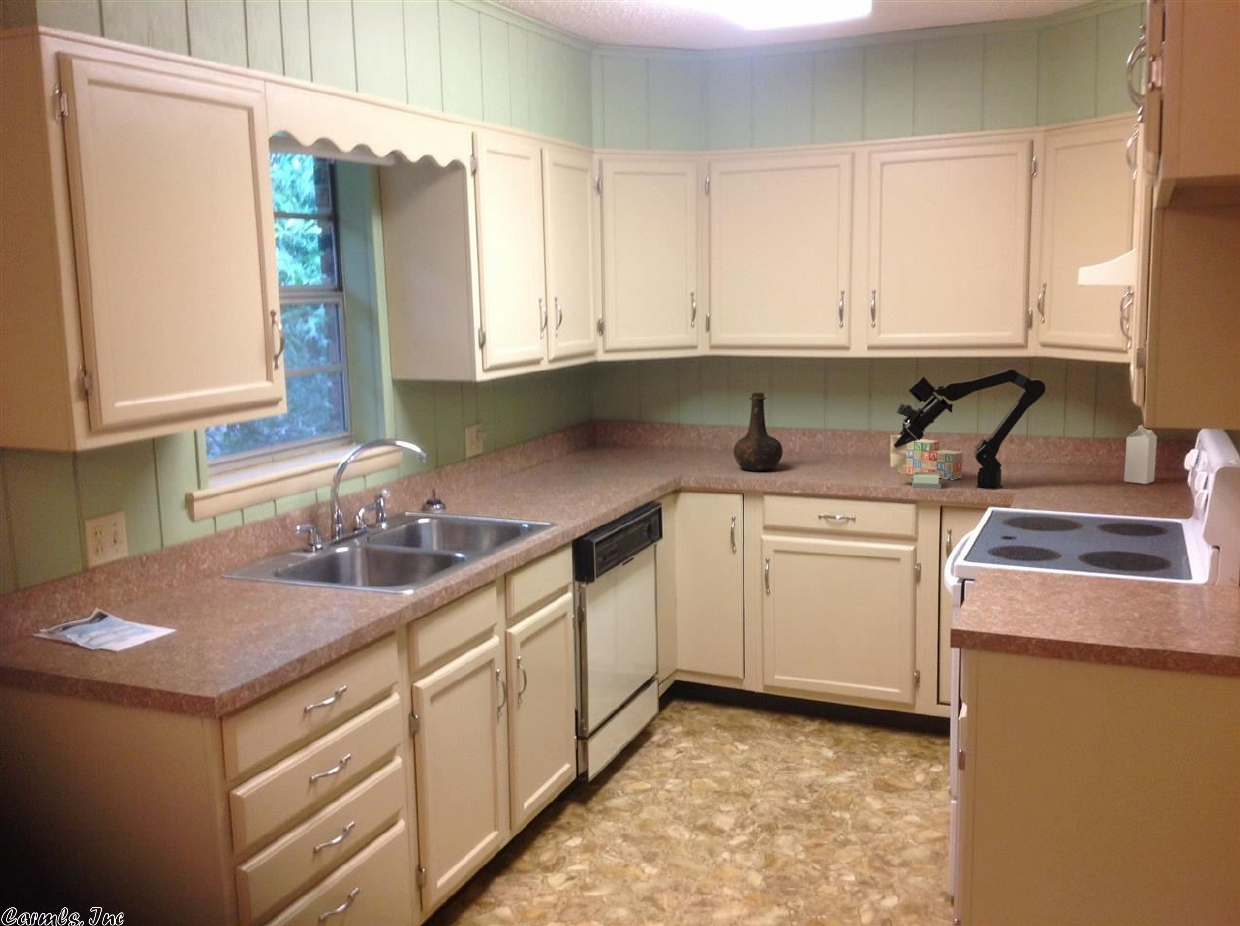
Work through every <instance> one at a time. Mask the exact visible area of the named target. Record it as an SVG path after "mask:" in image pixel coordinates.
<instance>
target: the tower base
mask: <svg viewBox="0 0 1240 926" xmlns="http://www.w3.org/2000/svg"><path fill="white" fill-rule="evenodd" d="M910 479H911V480H910V483H911V482H912V484H911V487H912V489H929V490H930V489H933V490H935V489H936V490H938V489H939V490H941V489H942V483H941V479H939V484H928V483H913V477H912V478H910Z"/></svg>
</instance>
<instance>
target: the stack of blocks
mask: <svg viewBox="0 0 1240 926" xmlns="http://www.w3.org/2000/svg"><path fill="white" fill-rule="evenodd" d="M939 442H940V440H932V439H924V438H921V439H920V440H918V439H917V440H916V441H913V442H910V443H907V467H897V468H898V471H897V473H898V472H900V473H908V474H914V473H915V472H926V473H940V475H939V478H948V479H955V478H959V477H961V478H962V468H963V465H962V464H963V451H954V450H946V449H940V447H939V446H940V445H939V444H940V443H939Z"/></svg>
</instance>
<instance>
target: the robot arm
mask: <svg viewBox="0 0 1240 926" xmlns="http://www.w3.org/2000/svg"><path fill="white" fill-rule="evenodd" d="M1007 383H1012V384H1014V385H1016V386H1018V387H1020V388H1021V390H1020V392H1019V394H1018V397H1017V399H1016V401H1015V402H1014V404H1013V405H1012V407H1011V408H1010V409H1009V411H1008V412H1007V414H1006V415H1005V416H1004V417H1003V419H1001V421H1000V423H998V425H997V427H996V428H994V431H993V432H992V434H991V435H990V436H988V437H987V438H986V439H985V438H984V437H981V438H980V440H979V442H978V443H977V444H976V445H975V446H974V452H973V455H974V458H975V460H976V461H977V463H978V464H980V466H981V467H978V472H977V476H976V477H977V481H976V483H977V484H976V485H975V487H976V486H978V487H977V488H981V487H985V488H984V489H988V488H992V489H991V490H995V489H994V488H997V489H999V488H998V487H1000V488H1003V487H1004V485H1003V484H1002V468H1001V467H1002V464H1001V462H1000V461H999V460H998V459H997V458H996V457H997V455H998V453H999V450H1000V448H1001V446H1002V443H1003V442H1004V440H1005V439H1006V438H1007V437H1008V435H1009V434H1010V432H1011V431H1013V428H1014V427H1015V425H1016V424H1017V423H1018V422H1019V420H1020V419H1021V418H1022V417H1023V415H1024V414H1025V412H1026V411H1027V410H1028V408H1029V407H1031V406H1032V405H1033V404H1035V403H1036V402H1037V401H1038V400H1039V399H1040V398H1041V397H1042V396H1043V395H1044V394H1045V392H1046V389H1047V388H1046V385H1045V383H1044V382H1043V381H1042V380H1040V379H1039V378H1036V377H1032V378H1029V377H1027V376H1026V375H1023V374H1021V373H1019V372H1018V371H1016V370H1015V369H1013V368H1007V369H1004V370H1002V371H999V372H994V373H990V374H988V375H987V374H986V375H984V376H980V377H977V378H972V379H969V380H967V379H966V380H956V381H949V382H947V383H945V384H944V385H940V386H933V385H932V384H931V383H930V381H928V379H927V378H926V377H925V376H924V375H922V377H920V378H919V379H918V380H917V381H915V382H914V383H913V384H911V386H910V387H909V388H908V389H907V391H908V392H909V394H910V395H912V396H913V398H915V399H916V400H917V402H919V403H922V402H923V403H925V404H924V405H923V406H922V407H919V408H917V409H915V408H913V407H912V405H910V404H909V403H907V404H905V403H902V402H900V404H899V406H898V408H897V410H896V413H897V414H898V415H902V416H905V418H904V419H903V421H902V429H901V431H900V433H899V434H898V435H901V436H900V438H899V439H898V440H897V442H896V443H895V444H894V447H895V448H897V447H900V446H902V445H905V444H907V443H910V442H913V441H916V440H917V439H918V440H920V439H923V437H924V432H925V429H926V428H928V427H929V426H930V425H931V424H933V423H935V420H936V419H937V418H938V417H940V415H942V414H943V413H944V412H945V411H946V410H947V411H948V412H949V413H952V412H953V406H954V404H953V403H949V401H950V402H955V401H958V400H960V399H962V398H964V397H966V396H968V395H970V394H971V393H975V392H977V391H978V392H979V391H982V390H985V389H988V388H992V387H996V386H999V385H1003V384H1007ZM934 393H935V394H934ZM936 394H937V395H936ZM938 396H939V397H941V398H939V397H938ZM947 400H948V401H947ZM1002 486H1003V487H1002Z"/></svg>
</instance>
